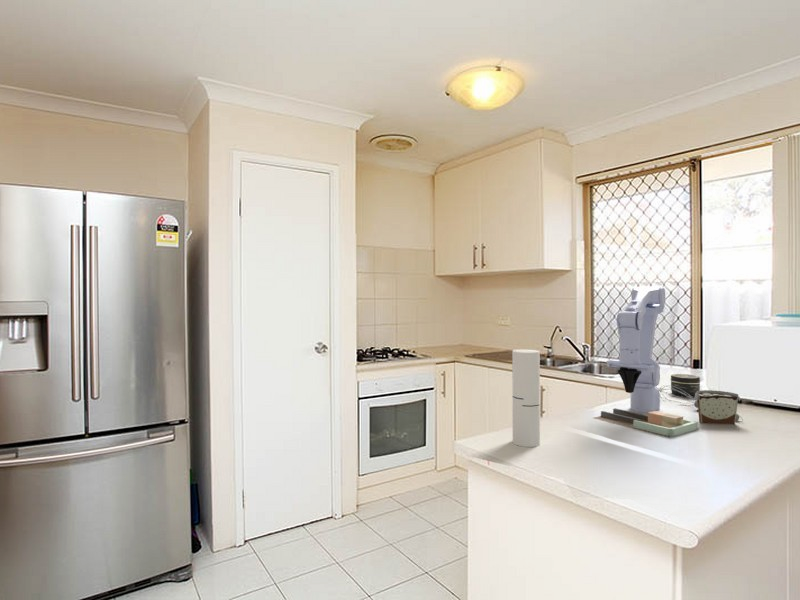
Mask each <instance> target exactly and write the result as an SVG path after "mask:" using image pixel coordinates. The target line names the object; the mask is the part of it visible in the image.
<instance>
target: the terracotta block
mask: <svg viewBox="0 0 800 600" xmlns="http://www.w3.org/2000/svg"><path fill="white" fill-rule="evenodd" d="M665 414H670V412H669V413H668V412H664V411H659V410H655V411H652V412H647V416H648V423H650V424H654V425H658V426H662V415H665Z"/></svg>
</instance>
